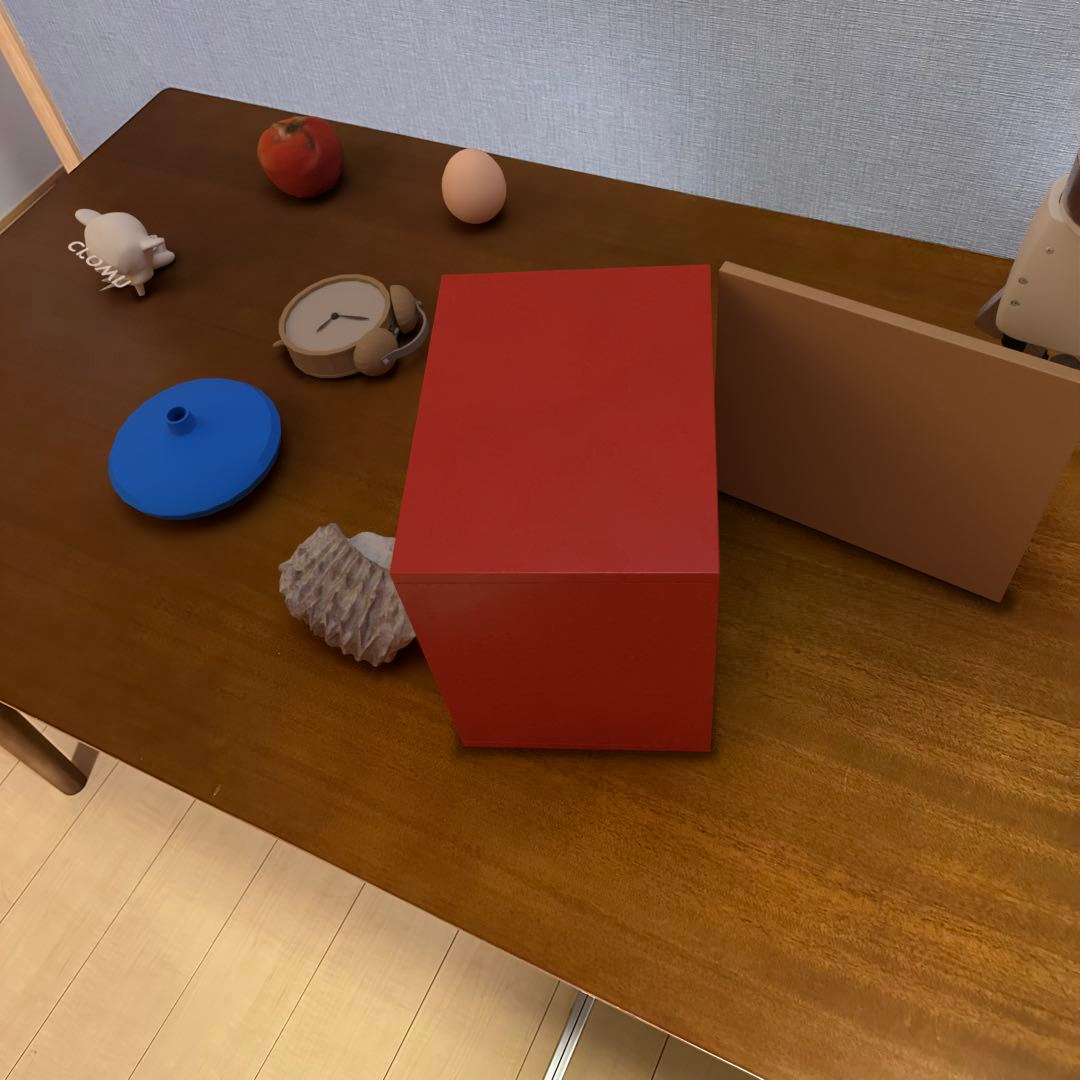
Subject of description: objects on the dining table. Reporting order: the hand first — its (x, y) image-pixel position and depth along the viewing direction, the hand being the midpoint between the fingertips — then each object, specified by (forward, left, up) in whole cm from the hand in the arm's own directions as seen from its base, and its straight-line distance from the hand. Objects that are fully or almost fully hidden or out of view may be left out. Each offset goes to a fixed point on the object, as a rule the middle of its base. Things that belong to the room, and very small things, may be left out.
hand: (1044, 408), depth 73 cm
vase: (+68, -6, -13) cm, 70 cm away
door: (+10, -1, -12) cm, 16 cm away
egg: (+46, -39, -13) cm, 62 cm away
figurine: (+82, -31, -13) cm, 89 cm away
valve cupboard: (+32, +9, -13) cm, 36 cm away
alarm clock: (+56, -21, -13) cm, 61 cm away
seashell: (+50, +9, -13) cm, 53 cm away
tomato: (+66, -46, -13) cm, 82 cm away
